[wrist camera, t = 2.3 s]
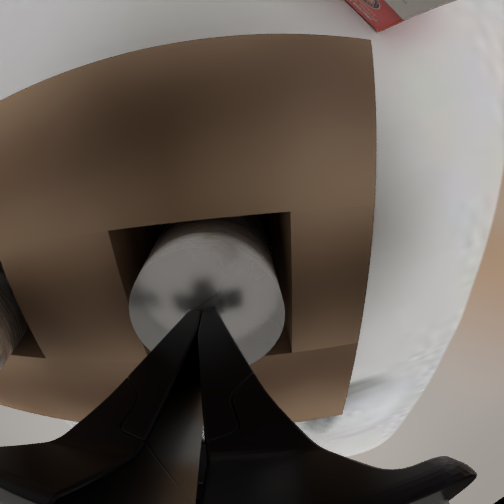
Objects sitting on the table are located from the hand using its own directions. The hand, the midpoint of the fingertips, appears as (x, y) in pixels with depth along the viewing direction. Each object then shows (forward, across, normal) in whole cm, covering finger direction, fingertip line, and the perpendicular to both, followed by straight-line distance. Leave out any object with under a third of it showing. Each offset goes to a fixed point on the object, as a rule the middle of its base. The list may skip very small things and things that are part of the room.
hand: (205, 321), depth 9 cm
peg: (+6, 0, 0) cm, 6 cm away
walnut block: (+7, +6, 0) cm, 9 cm away
